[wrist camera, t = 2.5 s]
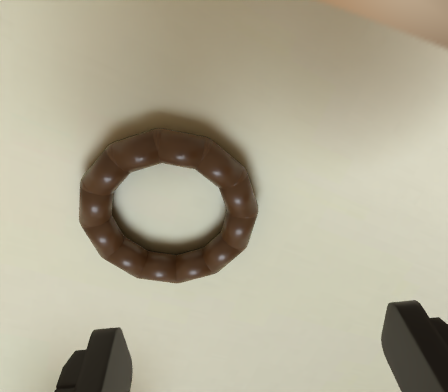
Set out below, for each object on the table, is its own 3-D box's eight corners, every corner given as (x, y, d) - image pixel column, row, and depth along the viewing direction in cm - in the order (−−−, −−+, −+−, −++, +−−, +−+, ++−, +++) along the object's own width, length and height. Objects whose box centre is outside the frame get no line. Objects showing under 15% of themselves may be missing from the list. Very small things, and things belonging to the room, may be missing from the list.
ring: (225, 101, 16) (227, 112, 14) (271, 245, 20) (275, 264, 18) (51, 157, 16) (39, 172, 15) (128, 283, 21) (124, 303, 19)
